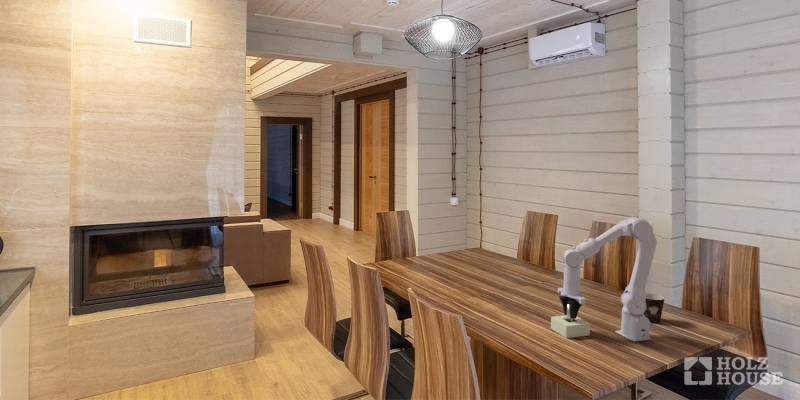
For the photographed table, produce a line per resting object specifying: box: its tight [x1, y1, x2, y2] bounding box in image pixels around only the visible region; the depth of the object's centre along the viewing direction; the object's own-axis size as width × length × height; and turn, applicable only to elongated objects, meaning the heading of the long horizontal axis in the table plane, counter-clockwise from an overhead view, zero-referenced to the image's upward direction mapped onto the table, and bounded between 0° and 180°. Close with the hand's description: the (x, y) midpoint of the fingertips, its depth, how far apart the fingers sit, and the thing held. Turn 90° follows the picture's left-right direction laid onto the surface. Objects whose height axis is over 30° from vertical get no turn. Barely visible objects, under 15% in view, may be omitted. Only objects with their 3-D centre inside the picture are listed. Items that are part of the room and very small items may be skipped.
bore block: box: [550, 314, 591, 339], centre depth 175 cm, size 10×10×4 cm
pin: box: [566, 303, 575, 322], centre depth 174 cm, size 3×3×8 cm
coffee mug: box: [644, 292, 666, 324], centre depth 187 cm, size 12×9×10 cm
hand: (570, 316), depth 174 cm, fingers closed on pin, 3 cm apart
